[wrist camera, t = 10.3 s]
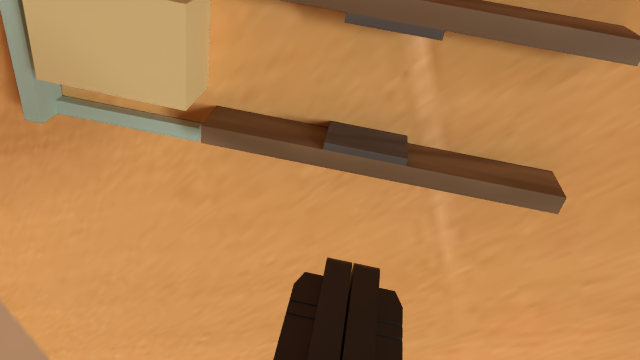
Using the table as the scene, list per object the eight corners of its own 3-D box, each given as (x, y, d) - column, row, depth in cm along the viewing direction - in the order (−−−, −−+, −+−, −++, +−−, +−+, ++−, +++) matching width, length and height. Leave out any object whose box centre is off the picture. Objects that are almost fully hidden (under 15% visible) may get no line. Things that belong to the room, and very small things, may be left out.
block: (63, -41, 27) (16, -31, 24) (212, -11, 27) (185, 3, 24) (76, 58, 31) (36, 79, 27) (209, 86, 30) (185, 111, 27)
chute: (221, -47, 26) (202, -40, 23) (624, 26, 25) (649, 41, 22) (217, 122, 31) (201, 142, 29) (544, 187, 30) (558, 214, 28)
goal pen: (6, -113, 25) (-27, -113, 23) (204, -77, 25) (186, -74, 23) (48, 105, 32) (24, 120, 30) (202, 136, 32) (189, 152, 30)
